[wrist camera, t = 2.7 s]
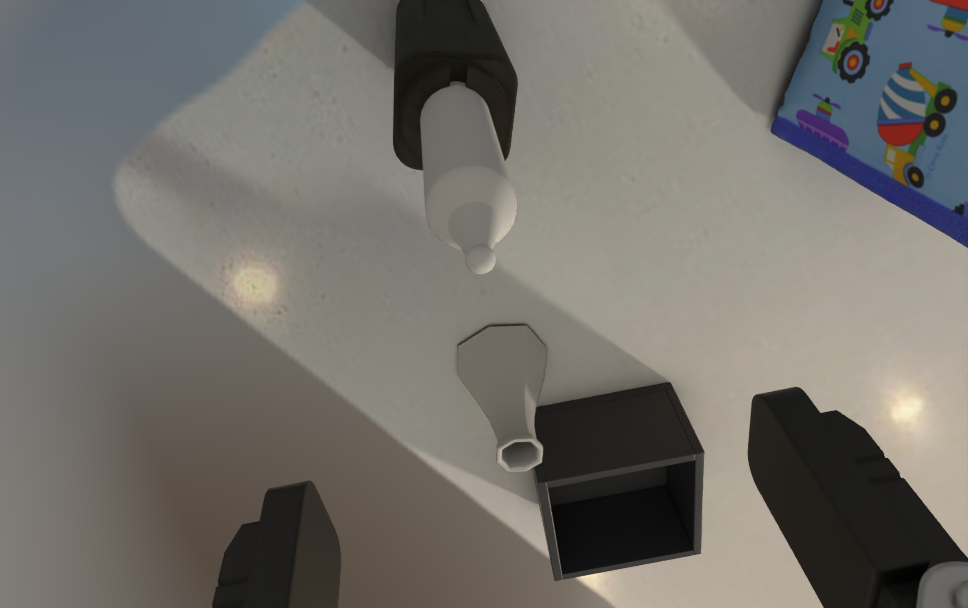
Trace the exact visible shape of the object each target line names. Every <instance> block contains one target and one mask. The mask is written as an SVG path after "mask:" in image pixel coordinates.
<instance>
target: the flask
mask: <svg viewBox="0 0 968 608" xmlns="http://www.w3.org/2000/svg"><path fill="white" fill-rule="evenodd" d="M546 357H547V348H546V347H545V346H544V344H543V343H542V342H541V341H540V340H539V339H538V338H537V336H536V335H535V334H534V333H533V332H532V331H531V329H530V328H529V327H528V326H499V327H488V328H486V329H485V330H483V331H482V332H480V333H478V334H477V335H475V336H474V337H472V338H470V339H469V340H467V341H466V342H464V343H462V344H461V345H459V346H458V377H459V378H460V380H461V381H462V382H463V384H464V385H465V386H466V388H467V389H468V390H469V392H470V393H471V394H472V396H473V397H474V398H475V400H476V401H477V403H478V404H479V406H480V407H481V409H482V410H483V412H484V413H485V415H486V416H487V418H488V419H489V421H490V423H491V425H492V427H493V430H494V432H495V435H496V437H497V441H498V443H497V453H496V461H497V463H498V464H499V465H500V466H501V467H502V468H503V469H504V470H506V471H507V472H520V471H527V470H529V469H531V468H533V467H534V466H536V465H538V464H540V463H542V456H543V446H542V444H541V443H540V442H539V441H538V440H537V439H536V434H535V429H534V417H535V412H536V407H537V403H538V399H539V396H540V392H541V389H542V385H543V381H544V376H545V366H546Z"/></svg>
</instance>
